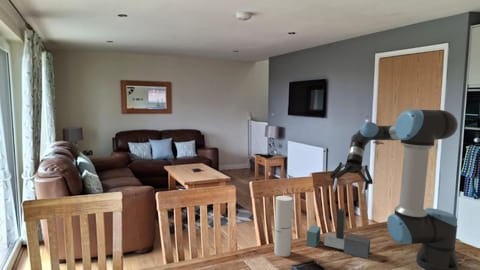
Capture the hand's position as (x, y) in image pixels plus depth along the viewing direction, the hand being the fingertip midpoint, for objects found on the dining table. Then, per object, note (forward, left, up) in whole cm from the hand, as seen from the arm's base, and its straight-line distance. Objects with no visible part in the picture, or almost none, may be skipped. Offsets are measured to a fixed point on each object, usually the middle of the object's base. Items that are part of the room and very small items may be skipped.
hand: (348, 192), depth 156 cm
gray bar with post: (-2, +12, -22) cm, 26 cm away
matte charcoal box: (-7, +12, -24) cm, 27 cm away
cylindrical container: (+22, +29, -24) cm, 43 cm away
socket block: (+13, +12, -24) cm, 29 cm away
